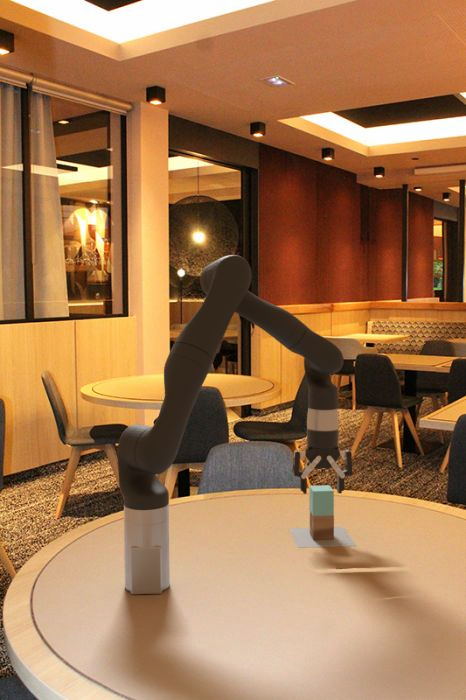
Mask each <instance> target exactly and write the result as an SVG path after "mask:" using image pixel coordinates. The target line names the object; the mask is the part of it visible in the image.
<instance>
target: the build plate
mask: <svg viewBox="0 0 466 700" xmlns="http://www.w3.org/2000/svg"><path fill="white" fill-rule="evenodd" d="M289 531H290V534H291V536H292V538H293V541H294V543H295V545H296V547H297V549H298V548H299V549H300V548H302V549H303V548H335V547H339V548H340V547H357V544H356V543H355V541H354V540H353V538H352V537H351V535H350V534H349V532H348V531H347V530H346V528H345V527H344V526H334V540H313V539H312V537H311V535H310V527H289Z"/></svg>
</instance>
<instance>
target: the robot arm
mask: <svg viewBox="0 0 466 700" xmlns="http://www.w3.org/2000/svg"><path fill="white" fill-rule="evenodd" d="M252 277H253V276H252V269H251V267H250V264H249V262H248V261H247V260H246V259H245V258H244V257H242V256H240V255H238V254H230V255H225V256H222V257H221V258H218V259H216V260H215V261H213V262H211V263H209V264H208V265H206V266H205V267H204V268H203V269H202V271H201V273H200V277H199V282H200V286H201V287H200V288H201V290H202V291H203V293H204V294H205V295H206V297H205V298H204V300H203V301H202V304H201V306H200V307H199V309H197V311H196V312H195V313H194V315H192V316H191V318H190V320H189V321H188V322H187V323H186V325H185V326H184V327H183V328H182V330H181V331H180V333H179V334H178V336H177V337H176V339H175V341H174V343H173V345H172V347H171V350H169V351H170V352H169V353H168V355H167V357H166V360H165V363H164V367H163V386H164V400H163V403H162V407H161V410H160V412H159V414H158V416H157V419H156V421H155V422H154V424H153V425H152V426H151V425H144V424H132V425H130V426H128V427H127V428H125V429H124V431H122V432H121V435H120V438H119V440H118V445H117V469H118V471H117V473H118V484H119V490H120V493H121V495H122V498H123V543H124V552H123V553H124V587H125V590H127V591H128V592H130V595H147V594H148V595H151V594H152V595H153V594H154V595H155V594H157V595H158V594H162V593H163V591H165V590H166V589H168V588H169V587H170V585H171V584H170V582H171V581H170V580H171V579H170V577H171V576H170V575H171V572H170V571H171V569H170V564H171V563H170V495H169V494H170V493H169V490H168V488H167V487H166V486H165V485H164V484H163V483H162V482H161V481H160V480H159V477H158V476H157V475H161V474H163V473H165V472H167V470H169V469H170V467H171V466H172V465H173V463H174V461H175V458H176V457H177V454H178V452H179V449H180V445H181V444H182V440H183V437H184V434H185V431H186V428H187V425H188V421H189V419H190V415H191V413H192V411H193V408H194V406H195V403H196V401H197V399H198V396H199V394H200V391H201V389H202V387H203V384H204V382H205V381H206V378H207V376H208V374H209V372H210V370H211V368H212V365H213V363H214V361H215V358H216V356H217V354H218V351H219V348H220V346H221V345H222V342H223V340H224V337H225V334H226V332H227V330H228V328H229V324H230V322H231V321H232V318H233V316H234V314H238V315H239V316H241V318H242V317H243V318H245V320H247V321H249V322H251V323H252V324H254V325H256V326H257V327H259V329H262V331H264V332H265V333H267V334H268V335H269V336H271V338H274V340H276V341H277V342H279V344H281V345H282V346H283V347H285V348H286V349H287V350H288V351H290V352H292V353H294V354H297V355H299V356H301V357H303V368H304V374H305V381H306V384H307V387H308V401H307V402H308V403H307V404H308V405H307V406H308V409H307V415H306V416H307V417H306V427H307V428H306V449H305V451H303V450H298V449H294V451H293V458H292V474H293V475H294V476H295V477H298V478H299V488H300V489H299V490H300V492H302V494H304V495H306V494H308V493H307V492H308V491H307V489H308V488H307V487H308V484H307V483H308V479H307V477H308V476H309V474H310V473H311V472H312V471H313V470H314V469H316V470H321V469H325V470H330V469H331V468H332V469H333V470H334V472H335V473H336V474H337V475H338V476H337V477H336V482H337V483H336V492H337V493H338V494H342V492H344V491H345V479H346V478H347V477H349V476H350V477H351V476H353V458H352V457H353V455H352V452H351V451H350V450H349V449H347V448H346V449H345V450H340V449H339V429H340V428H339V424H340V423H339V410H338V409H339V392H338V391H339V390H338V387H337V386H336V385H335V384H334V383H333V381H332V378H331V377H332V376H331V375H333V374H337V373H338V372H340V371H341V370H342V368H343V365H344V355H343V352H342V351H341V349H340V348H339V347H338V346H337V345H336V344H334V343H333V342H331V341H329V339H328V338H325V337H323V336H322V335H320V334H319V333H316V332H315V331H313V330H312V329H311V328H309V327H308V326H307V325H306V324H305V323H303V322H302V321H301V320H300V319H299V318H298V317H296V316H295V315H293V314H292V313H290V312H289V311H288V310H286V309H285V308H283V307H281V306H278V305H275V304H273V303H271V302H268V301H266V300H265V299H262V297H261V298H260V297H258V296H257V295H256V294H254V293H252V292H251V291H249V289H250V285H251V283H252ZM304 457H305V458H306V459H307V462H306V463H305V465H304V467H303V468H302V469H301V470H300V461H302V460H303V458H304ZM340 457H342V460H344V467H345V468H344V470H342V469H341V467H340V466H339V465H338V464H337V461H338V460H339V458H340Z"/></svg>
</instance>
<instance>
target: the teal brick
mask: <svg viewBox="0 0 466 700" xmlns="http://www.w3.org/2000/svg"><path fill="white" fill-rule="evenodd" d="M308 488H309V492H308V493H309V495H308V496H309V497H308V499H309V500H308V501H309V503H308V504H309V509H308V510H309V513H310V512H311V513H312V515H313V516H332V515H334V513H335V512H334V511H335V510H334V508H335V505H334V504H335V503H334V502H335V498H334V497H335V495H334V493H335V491H334V489H333V488H332V487H331V485H309V486H308ZM334 516H335V515H334Z"/></svg>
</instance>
